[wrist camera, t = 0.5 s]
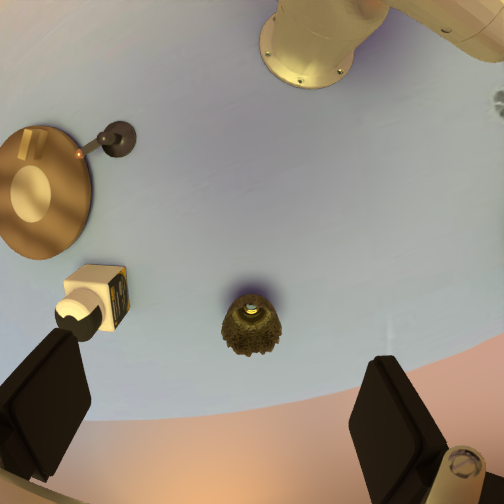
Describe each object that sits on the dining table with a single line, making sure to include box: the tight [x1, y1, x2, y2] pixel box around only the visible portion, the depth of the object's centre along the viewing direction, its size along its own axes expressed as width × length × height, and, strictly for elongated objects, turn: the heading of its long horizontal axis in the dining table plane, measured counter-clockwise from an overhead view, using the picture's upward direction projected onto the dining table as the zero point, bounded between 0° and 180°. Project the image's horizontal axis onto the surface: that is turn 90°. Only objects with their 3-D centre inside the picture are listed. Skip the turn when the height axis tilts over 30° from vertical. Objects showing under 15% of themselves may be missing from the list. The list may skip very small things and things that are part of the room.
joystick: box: [75, 121, 136, 160], centre depth 37 cm, size 7×5×6 cm
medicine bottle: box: [55, 264, 129, 342], centre depth 40 cm, size 7×7×12 cm
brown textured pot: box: [221, 294, 282, 357], centre depth 43 cm, size 8×7×8 cm
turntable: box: [0, 126, 91, 260], centre depth 37 cm, size 20×20×6 cm
